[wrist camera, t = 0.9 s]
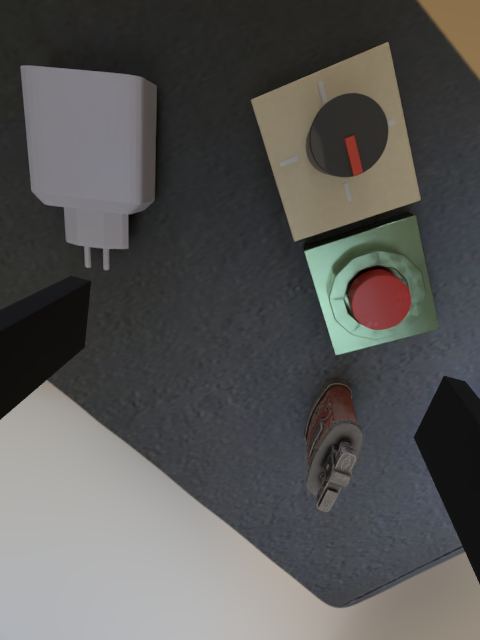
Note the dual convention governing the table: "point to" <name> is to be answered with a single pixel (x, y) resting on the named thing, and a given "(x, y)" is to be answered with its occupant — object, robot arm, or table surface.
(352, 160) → the hob knob
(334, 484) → the lighter
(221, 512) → the table surface
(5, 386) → the robot arm
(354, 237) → the box
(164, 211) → the table surface
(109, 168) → the charger
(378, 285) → the button
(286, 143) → the hob panel
